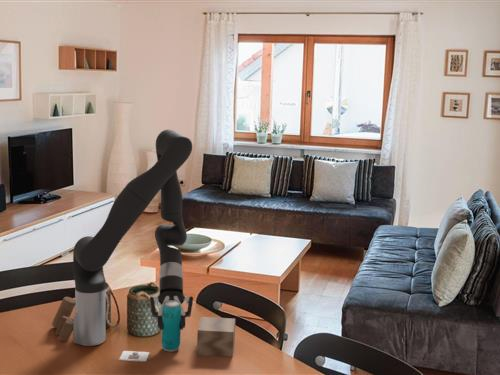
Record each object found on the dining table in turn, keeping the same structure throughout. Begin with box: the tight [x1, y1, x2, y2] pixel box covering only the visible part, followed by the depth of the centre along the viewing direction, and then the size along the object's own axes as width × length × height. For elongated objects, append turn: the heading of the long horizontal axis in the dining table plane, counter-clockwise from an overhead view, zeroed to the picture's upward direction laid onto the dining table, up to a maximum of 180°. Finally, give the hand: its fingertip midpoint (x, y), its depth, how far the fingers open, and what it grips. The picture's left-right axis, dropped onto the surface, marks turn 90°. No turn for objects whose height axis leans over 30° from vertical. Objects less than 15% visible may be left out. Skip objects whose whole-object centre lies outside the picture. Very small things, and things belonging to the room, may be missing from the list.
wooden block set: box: [51, 296, 75, 343], centre depth 217 cm, size 18×9×10 cm, turn 5°
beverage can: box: [161, 300, 182, 353], centre depth 206 cm, size 6×6×15 cm
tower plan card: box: [118, 350, 150, 363], centre depth 201 cm, size 8×6×1 cm
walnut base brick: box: [196, 316, 236, 358], centre depth 208 cm, size 11×11×8 cm
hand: (171, 328), depth 204 cm, fingers closed on beverage can, 5 cm apart
